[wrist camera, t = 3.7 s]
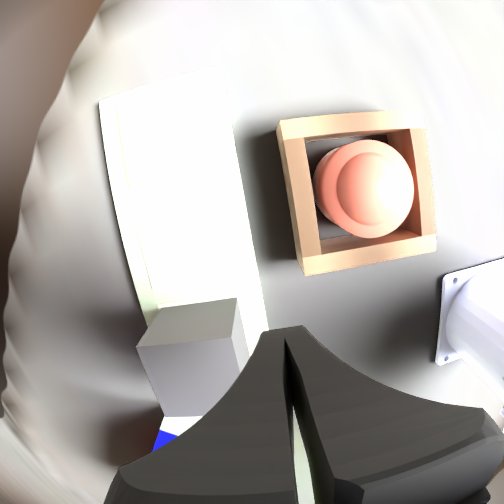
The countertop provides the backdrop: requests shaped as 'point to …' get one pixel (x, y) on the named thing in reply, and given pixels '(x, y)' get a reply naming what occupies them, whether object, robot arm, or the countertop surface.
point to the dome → (364, 188)
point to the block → (194, 355)
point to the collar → (302, 200)
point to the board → (182, 197)
